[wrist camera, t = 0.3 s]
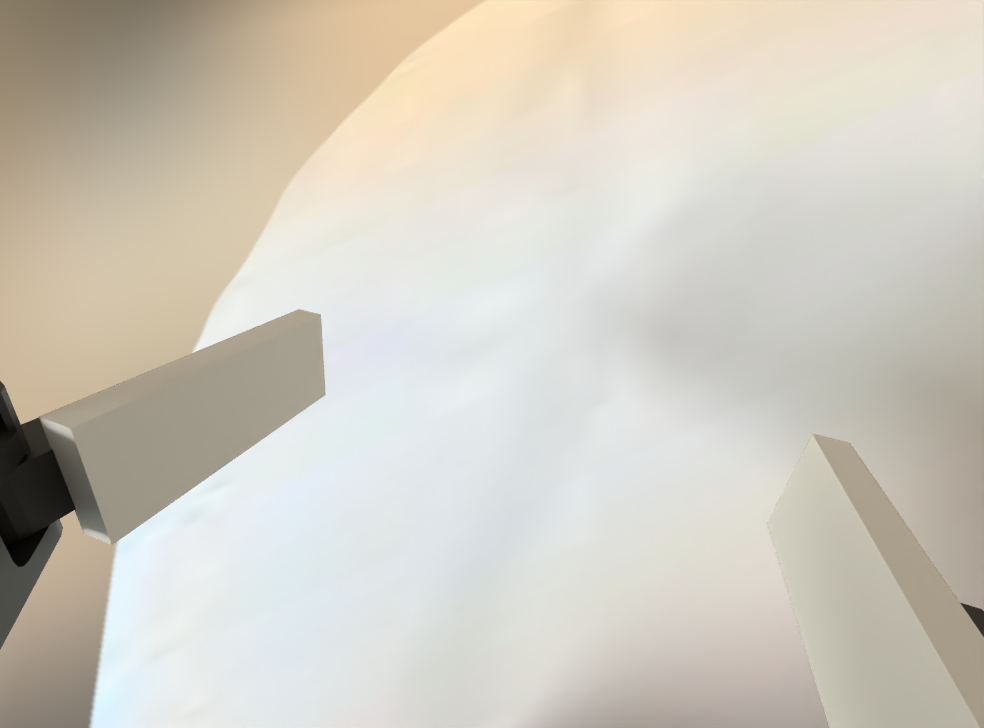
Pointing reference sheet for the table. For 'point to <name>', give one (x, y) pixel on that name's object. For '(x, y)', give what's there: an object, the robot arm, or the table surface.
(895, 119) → the table surface
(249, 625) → the table surface
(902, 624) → the robot arm
